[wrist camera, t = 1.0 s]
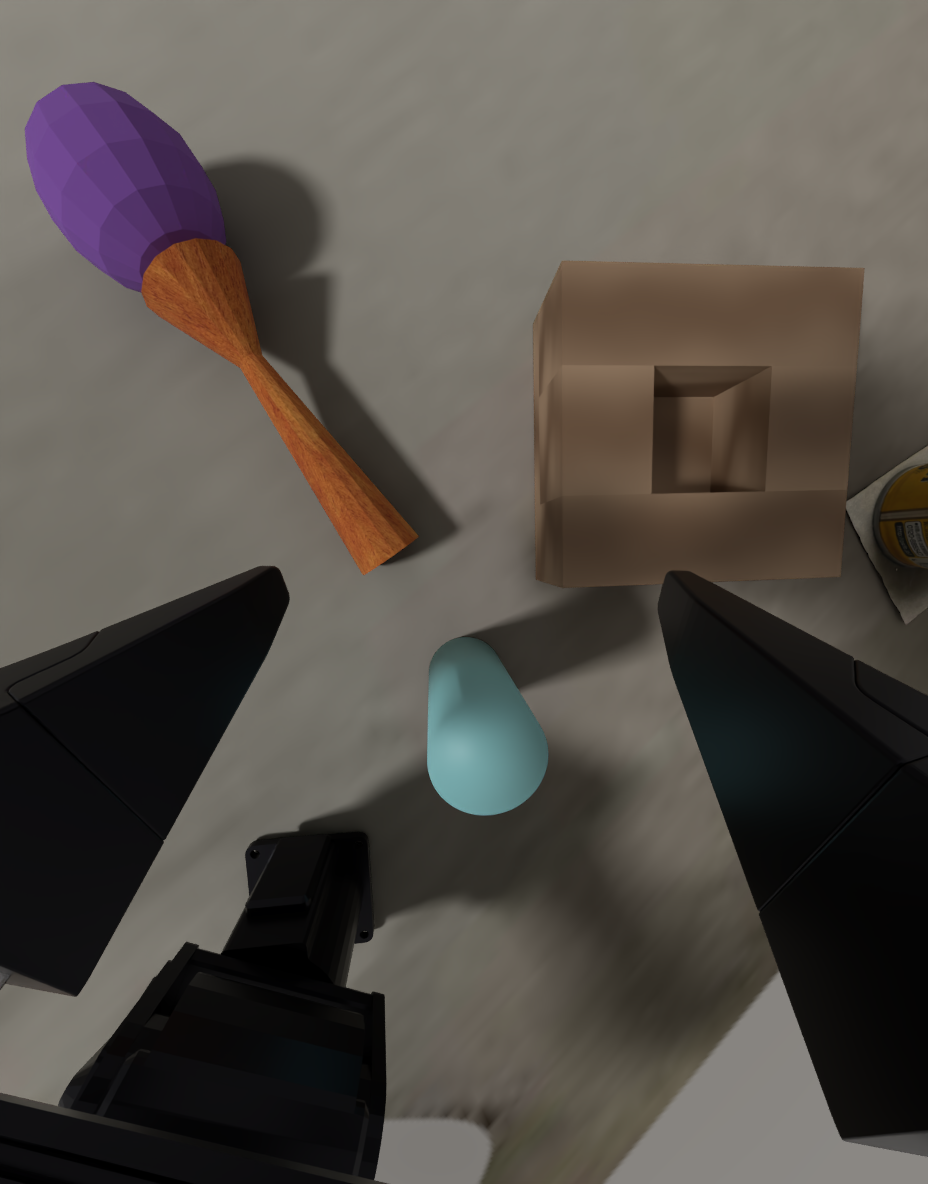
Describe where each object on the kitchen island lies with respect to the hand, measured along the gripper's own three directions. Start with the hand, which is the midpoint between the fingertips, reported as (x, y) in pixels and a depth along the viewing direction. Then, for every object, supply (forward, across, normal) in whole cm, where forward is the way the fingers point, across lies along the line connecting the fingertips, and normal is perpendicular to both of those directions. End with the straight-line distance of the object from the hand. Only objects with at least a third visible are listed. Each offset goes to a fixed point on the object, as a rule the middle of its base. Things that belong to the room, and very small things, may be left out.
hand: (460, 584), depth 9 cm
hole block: (+15, -8, +2) cm, 17 cm away
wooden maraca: (+13, +11, -3) cm, 17 cm away
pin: (+8, +2, +11) cm, 14 cm away
